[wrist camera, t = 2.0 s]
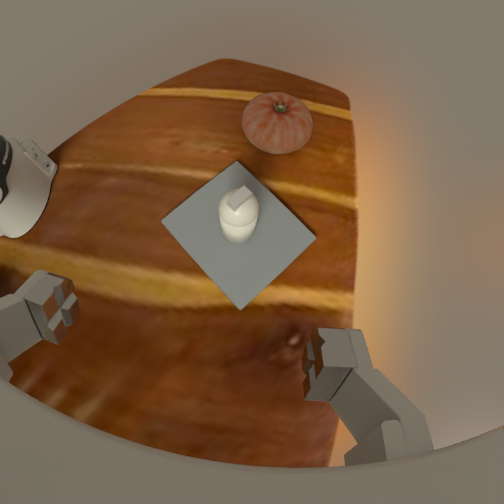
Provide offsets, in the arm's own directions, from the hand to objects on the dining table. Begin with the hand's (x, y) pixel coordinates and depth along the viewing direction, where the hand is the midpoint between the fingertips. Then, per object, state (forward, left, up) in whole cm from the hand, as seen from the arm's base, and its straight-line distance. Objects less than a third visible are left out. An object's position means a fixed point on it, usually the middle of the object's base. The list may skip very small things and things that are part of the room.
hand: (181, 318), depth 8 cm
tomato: (-16, +25, -28) cm, 40 cm away
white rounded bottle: (-8, +10, -26) cm, 29 cm away
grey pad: (-8, +10, -27) cm, 30 cm away
